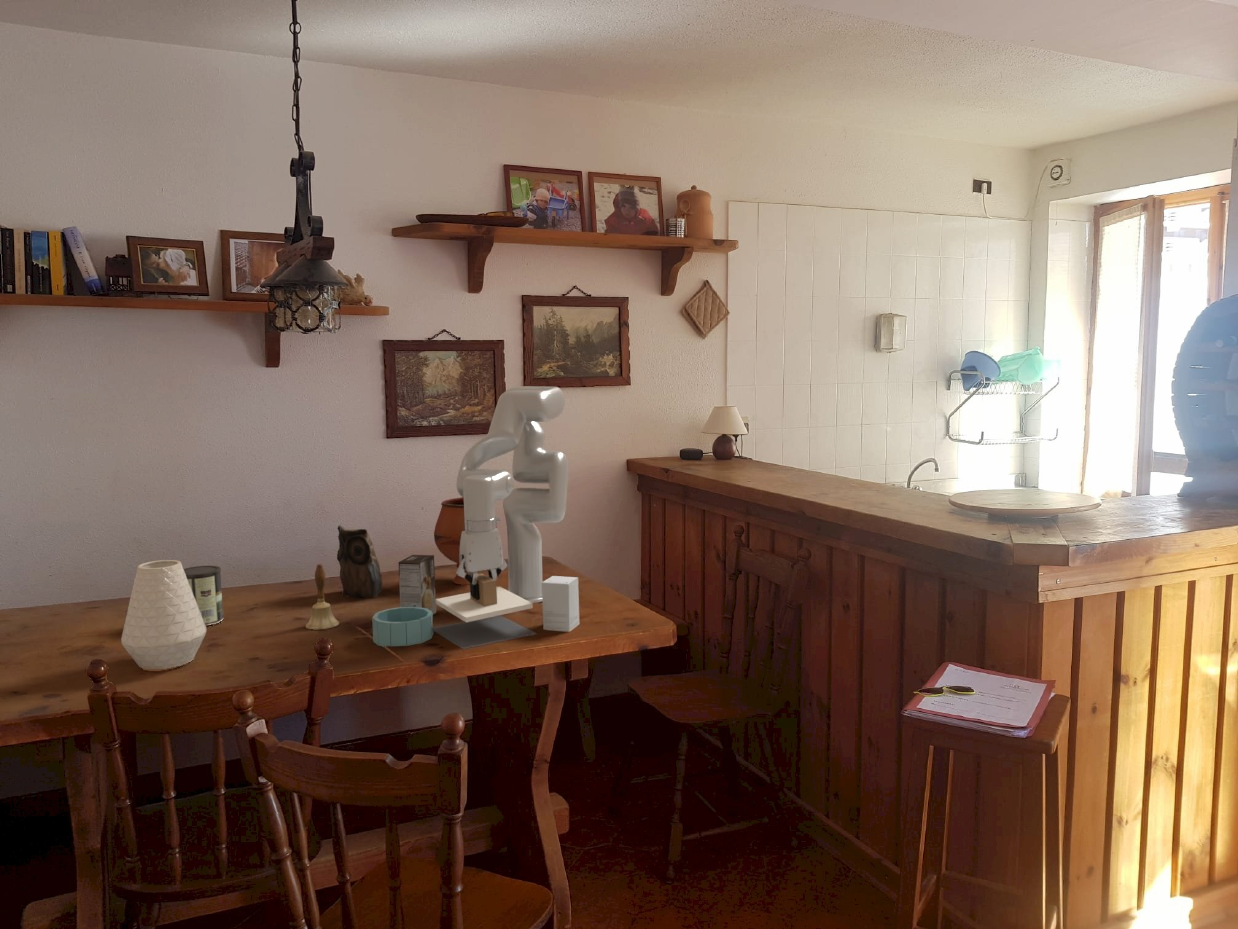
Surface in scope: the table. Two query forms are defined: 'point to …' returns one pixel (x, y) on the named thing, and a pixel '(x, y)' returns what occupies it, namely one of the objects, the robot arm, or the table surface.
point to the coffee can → (207, 591)
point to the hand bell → (321, 606)
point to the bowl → (402, 626)
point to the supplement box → (560, 603)
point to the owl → (358, 564)
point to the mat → (482, 631)
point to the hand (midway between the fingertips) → (483, 596)
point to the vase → (162, 617)
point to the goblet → (451, 532)
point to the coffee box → (417, 582)
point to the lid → (484, 602)
